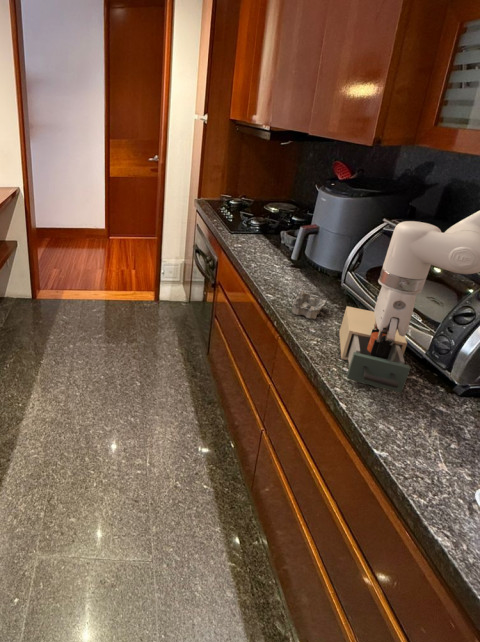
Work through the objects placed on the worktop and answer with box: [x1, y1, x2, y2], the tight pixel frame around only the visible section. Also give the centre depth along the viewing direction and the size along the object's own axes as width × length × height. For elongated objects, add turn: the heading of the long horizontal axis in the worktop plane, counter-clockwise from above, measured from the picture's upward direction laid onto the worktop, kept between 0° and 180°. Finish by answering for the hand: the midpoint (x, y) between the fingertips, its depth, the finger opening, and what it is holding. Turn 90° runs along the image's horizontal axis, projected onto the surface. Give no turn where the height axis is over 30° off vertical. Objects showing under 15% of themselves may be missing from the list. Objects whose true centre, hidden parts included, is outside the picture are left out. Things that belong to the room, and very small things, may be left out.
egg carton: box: [291, 289, 326, 320], centre depth 118 cm, size 11×8×4 cm
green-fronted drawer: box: [346, 334, 411, 394], centre depth 89 cm, size 17×10×7 cm, turn 152°
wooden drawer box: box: [339, 305, 408, 361], centre depth 98 cm, size 13×11×8 cm
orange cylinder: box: [367, 332, 387, 353], centre depth 88 cm, size 4×4×4 cm
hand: (377, 350), depth 89 cm, fingers closed on orange cylinder, 4 cm apart
